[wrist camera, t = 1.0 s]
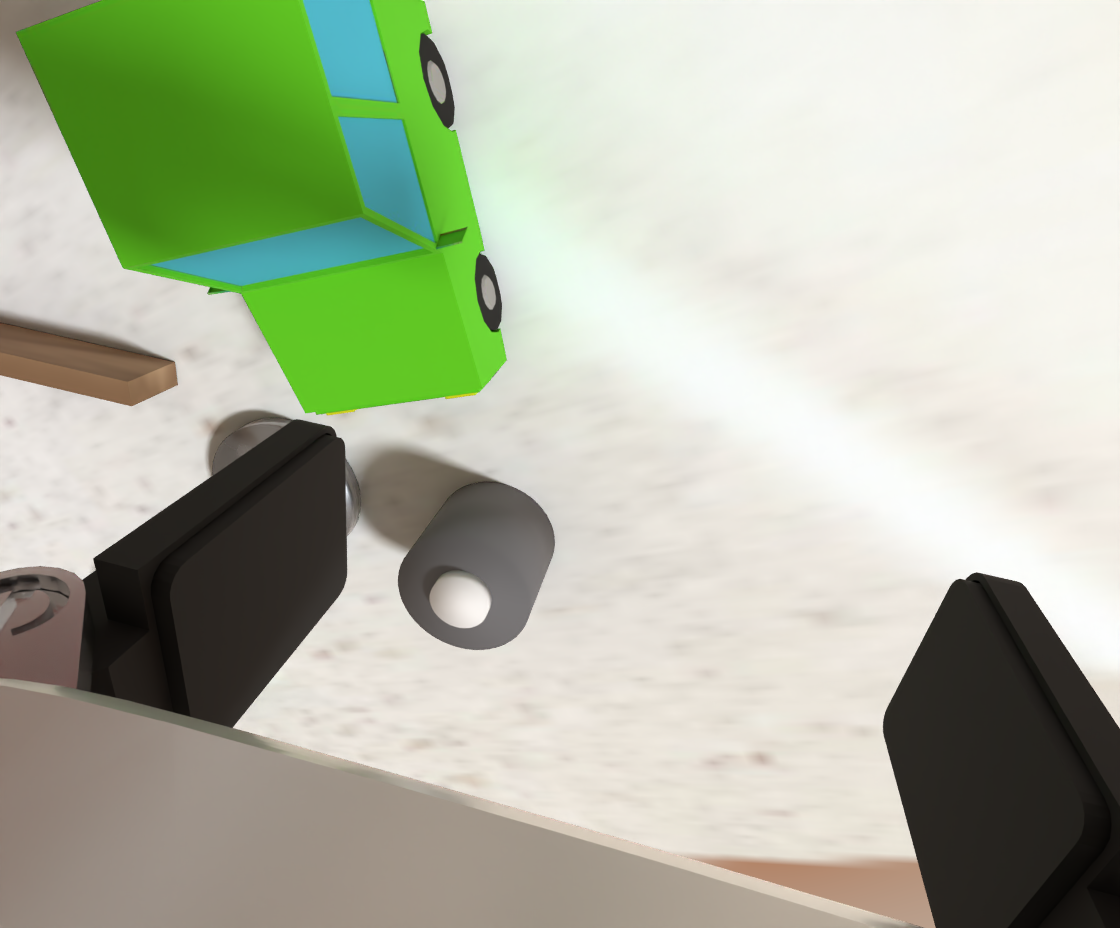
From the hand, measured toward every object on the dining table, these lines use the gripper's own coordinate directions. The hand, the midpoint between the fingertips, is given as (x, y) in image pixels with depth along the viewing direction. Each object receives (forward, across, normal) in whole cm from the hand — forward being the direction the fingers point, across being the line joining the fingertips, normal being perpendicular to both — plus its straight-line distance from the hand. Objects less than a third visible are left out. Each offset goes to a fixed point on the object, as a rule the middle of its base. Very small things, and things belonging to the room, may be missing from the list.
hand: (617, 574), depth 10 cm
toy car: (+19, +12, -1) cm, 23 cm away
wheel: (+19, +6, +13) cm, 24 cm away
